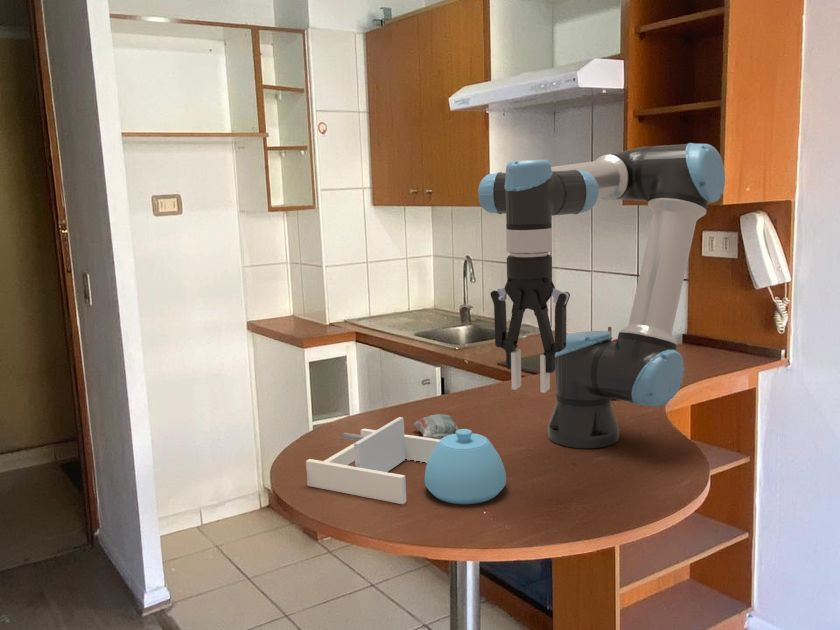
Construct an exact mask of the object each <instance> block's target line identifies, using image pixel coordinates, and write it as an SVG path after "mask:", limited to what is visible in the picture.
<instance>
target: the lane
mask: <svg viewBox="0 0 840 630" xmlns="http://www.w3.org/2000/svg"><path fill="white" fill-rule="evenodd" d="M376 430H377V429H370V428H362V429H360V435H364V436H368V435H369V434H371V433H373V432H374V431H376ZM404 439H405V459H407V460H406V461H410V460H414V461H413V462H416V461H420V462H419V463H422V462H425V463H424V464H427V463H428V460H429V458H430V456H431V454H432V452H433V450H434V449H435V447H436V445H437V444H438V443H439V441H440V439H433V438H426V437H423V436H418V435H412V434H405V433H404ZM356 442H357V441H355V442H354V443H356ZM354 443H352V444H350V445H348V446H347V447H345V448H343V449H342V450H340V451H338V452H336V453H335V454H332V455H331V456H330V457H328V458H326V459H325V460H319V459H312V458H309V459H307V460H305V468H306V469H305V470H306V481H307V482H306V483H307V487H312V488H318V489H322V490H327V491H332V492H337V493H343V494H349V495H354V496H358V497H363V498H368V499H374V500H379V501H384V502H388V503H395V504H399V505H405V504H406V502H407V487H406V484H407V483H406V475H404V474H399V473H393V472H389V471H388V472H382V471H377V470H371V469H365V468H359V467H355V466H354V465H350V464H352V463H354V462H355V451H354Z"/></svg>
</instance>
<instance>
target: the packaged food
mask: <svg viewBox="0 0 840 630" xmlns="http://www.w3.org/2000/svg"><path fill="white" fill-rule="evenodd" d="M412 425H413V426H414V427H416V428H417V429H418V431H419V432H420V433H421V435H422V437H426V438H433V439H440V440H441V439H442V438H443V437H445V436H448V435H451V434H456V431H457V430H459V427H458V425H457V424H456V423H455V421H454V420H453V417H452V415H449V414H444V413H443V414H442V413H437V414H432V415H428V416H424V417H422V418H419V420H417V421H415V422H414V423H413V424H412Z"/></svg>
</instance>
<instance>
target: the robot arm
mask: <svg viewBox="0 0 840 630" xmlns="http://www.w3.org/2000/svg"><path fill="white" fill-rule="evenodd" d="M725 183H726V172H725V167H724V163H723V159H722V157H721V154H720V153H719V151H718V150H717V149H716V147H714V146H713V145H711V144H709V143H694V142H688V143H682V144H681V143H680V144H669V145H667V144H663V145H650V146H649V145H647V146H640V147H636V148H630V149H627V150H623V151H620V152H615V153H609V154H604V155H601V156H599V157H598V158H596V159H595V160H594V161H586V162H579V163H572V164H571V163H570V164H563V165H557V166H552V163H551V162H550V160H548V159H527V160H526V159H525V160H524V159H523V160H521V159H520V160H511V161H509V162H508V163H507V164H506V166H505V172H502V171H499V172H495V173H494V172H493V173H489V174H487V175H485V176H484V177H483V178H482V179H481V181H480V182H479V185H478V189H477V193H478V202H479V205H480V206H481V208H482V209H483V210H484V211H486V212H487V213H490V214H497V215H502V214H504V215H505V219H506V220H505V221H506V224H505V225H506V226H505V229H506V231H505V232H506V233H505V234H506V235H505V236H506V237H505V239H506V240H505V241H506V242H505V249H506V252H507V253H508V254H509V255H507V257H506V278H507V280H506V283H505V285H504V287H502V288H497V289H495V290H492V291H491V292H490V298H491V301H492V303H493V316H494V317H493V318H494V344H495V347H497V348H501V349H503V350H504V351H505V356H506V357H505V360H506V362H505V365H506V369H507V370H510V372H511V373H510V375H511V390H515V391H516V390H518V389H519V388H520V387H522V350H521V349H519V348H518V347H519V345H518V342H519V341H518V340H519V336H520V332H521V328H522V322H523V318H524V313H525V311H526V309H528V310H530V311H533V314H534V316H535V317H536V322H537V326H538V330H539V334H540V338H541V343H542V347H543V351H544V352H542V353H541V354H539V368H540V369H539V373H540V375H539V376H540V381H539V382H540V383H539V384H540V385H539V387H540V388H539V389H540V393H544V394H545V393H546V392H548V391H550V390H551V374H553V373H554V371H555V404H554V407H553V410H552V413H551V416H550V420H549V422H548V426H547V438H548V440H550V441H551V442H552V443H555V444H557V445H561V446H564V447H568V448H569V447H570V448H575V449H601V448H606V447H609V446H612V445H614V444H616V443H617V442H618V441H619V439H620V428H619V424H618V421H617V418H616V415H615V412H614V409H613V406H612V402H611V401H612V400H611V399H613V398H614V399H615V400H619V401H624V402H627V403H633V404H636V405H638V406H649V407H655V408H656V407H661V406H665V404H668V403H669V402H670V401H671V400H673V398H674V397H675V396H676V394H677V392H678V391H679V390H680V387H681V385H682V383H683V382H682V381H683V378H684V374H685V367H684V361H685V360H684V358H683V356H682V355H681V353H680V352H678V351H677V348H678V342H677V341H676V339H675V338H674V336H673V328H674V325H675V320H676V317H677V311H678V307H679V302H680V297H681V293H682V289H683V283H684V279H685V275H686V271H687V270H686V269H687V265H688V262H689V257H690V252H691V247H692V243H693V239H694V233H695V230H696V224H697V221H698V220H699V219H701V218H702V217H704V216H705V215H707V210H708V206H709V204H710V203H714V202H717V201H718V200H720V199H721V197H722V195H723V194H724V190H725ZM598 199H601V200H604V201H615V200H625V201H639V202H647V206H648V208H649V209H650V211H651V212H652V213H653V214H652V219H651V223H650V227H649V232H648V234H647V235H648V236H647V239H646V240H647V241H646V245H645V249H644V253H643V258H642V264H641V267H640V270H639V271H640V272H639V276H638V280H637V281H638V282H637V286H636V289H635V294H634V297H633V298H634V300H633V303H632V308H631V312H630V316H629V321H628V325H627V326H626V327H624V328H622V329H621V330H619V331H618V335H617V338H616V339H617V342H614V341H612V340H613V335H612V332H611V333H610V332H608V330H607V331H606V330H587V331H579V332H572V333H567V307H568V302H569V300H570V298H571V297H570V296H571V294H570V292H569V291H562V290H559V289H556V287H555V285H554V282H553V257H552V256H551V255H550V252H552V250H553V249H552V248H553V240H552V239H553V237H552V236H553V233H552V231H553V230H552V229H553V228H552V224H553V223H552V219H553V218H552V216H553V217H554V216H564V215H579V214H582V213H585V212H588V211H590V210H591V209H592V208H593V207H594V206H595V204H596V203H597V201H598ZM507 296H508V297H509V299H510V300H511V302H512V307H511V316H510V322H509V326H508V328H507V301H506V300H507ZM551 297H553V303H554V304H555V306H554V334H553V329H552V325H551V322H550V317H549V314H548V312H549V309H548V304H547V303H548V302H549V300H550V299H551ZM507 329H508V330H507ZM517 348H518V349H517ZM614 399H613V400H614Z"/></svg>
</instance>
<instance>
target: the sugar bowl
mask: <svg viewBox="0 0 840 630" xmlns="http://www.w3.org/2000/svg"><path fill="white" fill-rule="evenodd" d="M458 429H459V428H458ZM424 471H425V472H424V485H425V487H426V488H427V489H428V491H429V492H430V493H431V494H432V495H433V496H434V497H435V498H436V499H438V500H440V501H442V502H445V503H450V504H454V505H473V504H480V503H485V502H487V501H490V500H492V499H494V498H495V497H496V496H497V495H499V494H500V492H501V491H502V490H503V489H504V488H505V486H506V483H507V474H506V469H505V465H504V462H503V461H502V458H501V456H500V454H499V453H498V451H497V450H496V448H495V447H494V445H493V444H492V442H491V441H490V440H489V439H488V438H487V437H486V436H484V435H481V434H479V433H473V431H472V430H471V429H468V428H460V429H459V430H457V431H456V434H451V435H448V436H445V437H443V438H442V439H441V440H440V441H439V443H438V444H437V445H436V447H435V449H434V450H433V452H432V454H431V456H430V458H429V460H428V463H426V466H425V469H424Z"/></svg>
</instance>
